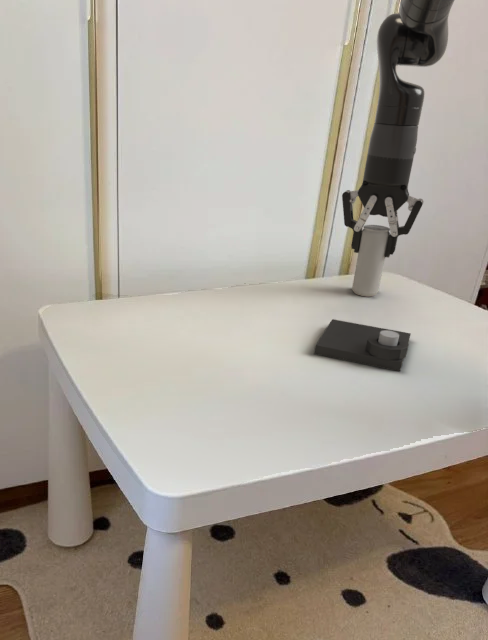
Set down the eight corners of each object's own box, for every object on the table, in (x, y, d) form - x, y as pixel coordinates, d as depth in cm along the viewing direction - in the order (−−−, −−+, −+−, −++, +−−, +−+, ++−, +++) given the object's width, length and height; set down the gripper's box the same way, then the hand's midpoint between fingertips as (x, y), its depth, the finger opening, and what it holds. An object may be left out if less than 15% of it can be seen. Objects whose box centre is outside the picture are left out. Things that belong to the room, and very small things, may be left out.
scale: (410, 342, 96) (414, 323, 95) (401, 372, 86) (406, 352, 85) (330, 327, 100) (333, 309, 99) (313, 354, 90) (316, 335, 89)
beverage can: (374, 289, 119) (386, 225, 114) (381, 297, 115) (394, 231, 109) (348, 288, 119) (359, 224, 114) (355, 296, 115) (366, 230, 109)
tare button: (398, 342, 89) (400, 332, 88) (395, 349, 87) (398, 338, 86) (379, 339, 90) (381, 328, 89) (376, 345, 88) (378, 335, 87)
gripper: (343, 151, 105) (328, 253, 113) (434, 159, 100) (411, 265, 108) (351, 147, 111) (336, 244, 119) (437, 155, 106) (415, 255, 114)
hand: (372, 253), depth 114 cm, fingers closed on beverage can, 5 cm apart
